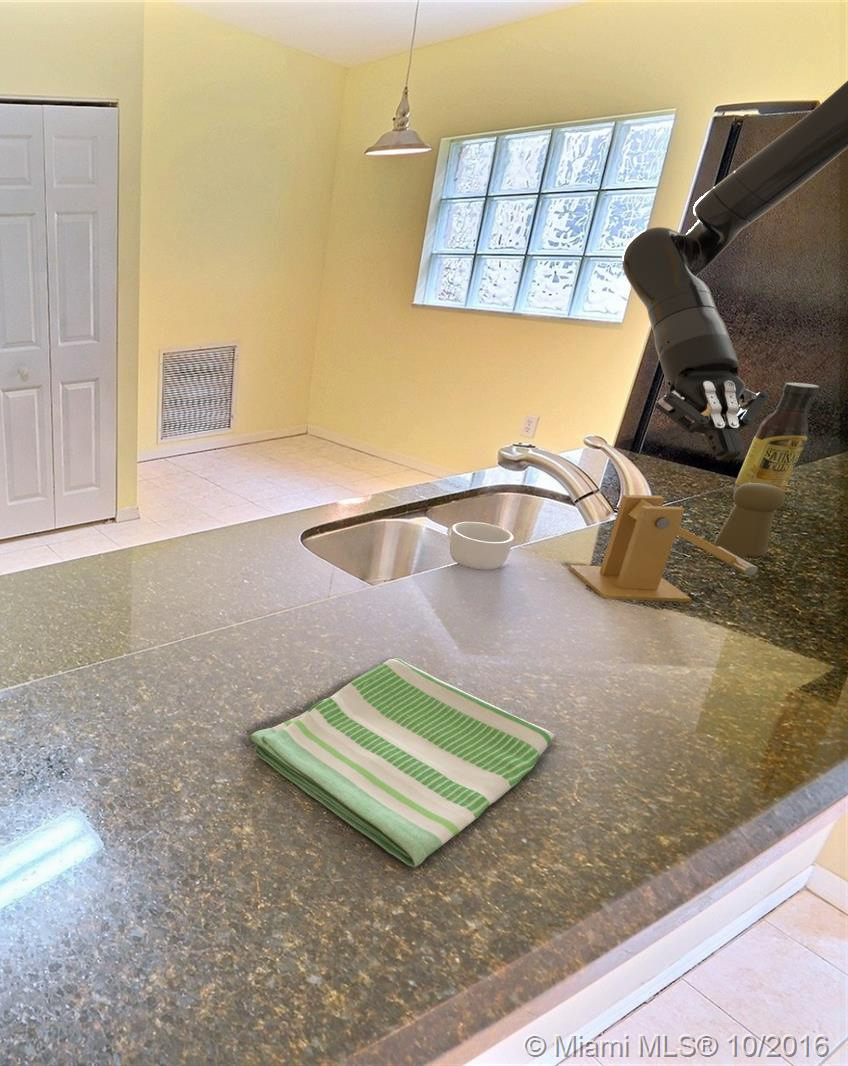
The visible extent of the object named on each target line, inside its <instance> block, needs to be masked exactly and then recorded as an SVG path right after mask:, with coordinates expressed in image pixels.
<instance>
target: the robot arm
mask: <svg viewBox="0 0 848 1066" xmlns="http://www.w3.org/2000/svg"><path fill="white" fill-rule="evenodd" d="M847 149H848V80H846V81H845V82H844V83H842V84H841V86H840V87H839V88H838V89H836V90H835V91H834V92H833V93H832V94H831V95H829V96H827V98H826V99H825V100H823V102H821V103H820V104H818V105H817V107H815V108H814V109H813V110H811V111H810V112H809V113H807V114H806V115H805V116H804V117H802V118H801V119H800V120H799V121H797V122H796V123H795V124H794V125H793V126H791V127H790V128H789V129H787V130H786V131H785V132H783V133H782V134H780V135H779V136H778V137H777V138H775V139H774V140H772V141H771V142H770V143H769V144H767V145H766V146H764V147H763V148H762V149H761V150H759V151H758V152H757V153H755V154H754V155H753V156H752V157H750V158H749V159H748V160H746V161H745V162H744V163H743V164H741V165H740V166H738V167H737V168H736V169H735V170H733V171H732V172H731V173H730V174H728V175H727V176H726V177H724V178H723V179H722V180H721V181H720V182H718V183H717V184H716V185H715V186H713V188H711V189H710V190H709V191H707V192H706V193H704V195H703V196H701V197H699V199H698V200H697V201H696V202H695V204H694V206H693V214H694V216H695V217H696V219H697V222H696V223H695V224H694V226H692V227H691V229H689V230H688V232H687V233H685V234H683V233H681V232H678V231H677V230H674V229H672V228H668V227H663V226H656V227H650V228H646V229H644V230H642V231H640V232H638V233H637V234H635V235H634V236H633V237H632V238H631V239H630V241H629V242H628V243H627V245H626V247H625V248H624V251H623V254H622V260H621V262H622V270H623V274H624V275H625V277H626V279H627V281H628V283H629V285H630V286H631V287H632V289H633V291H634V292H635V294H636V296H637V297H638V298H639V300H640V301H641V302H642V304H643V305H644V306H645V309H646V311H647V315H648V319H649V322H650V326H651V329H652V332H653V337H654V346H655V350H656V353H657V355H658V360H659V363H660V366H661V369H662V373H663V375H664V379H665V382H666V385H667V386H668V387H669V389H668V390H669V392H668V393H667V394H665V395H663V397H661V398H660V399H659V400H658V401H656V402H655V403H654V407H655V408H656V409H657V410H658V411H660V412H661V413H662V414H663V415H664V416H667V417H668V418H669V419H670V420H671V421H673V422H674V423H675V424H677V425H678V426H680V427H681V428H682V429H683V430H685V431H686V432H687V433H690V434H693V433H699V434H701V435H702V436H703V437H705V439H706V441H707V443H708V448H709V451H710V453H711V455H712V456H713V457H715V460H717V461H733V460H734V459H736V458H738V457H739V456H740V455H741V454H742V452H743V451H744V447H743V443H742V441H741V438H740V435H739V432H740V431H741V430H743V429H744V428H745V427H748V426H749V425H752V423H753V422H754V421H755V419H756V418H757V416H758V415H759V413H760V412H761V410H762V408H763V407H764V406H765V404H766V403H767V401H768V399H769V398H770V395H769V393H768V392H766V391H759V392H758V393H755V392H753V391H751V390H749V389H747V388H746V383H745V382H744V381H743V380H742V379H741V377H740V376H739V374H738V372H739V364H740V363H739V360H738V357H737V354H736V351H735V349H734V346H733V343H732V340H731V337H730V335H729V332H728V329H727V326H726V324H725V322H724V320H723V319H722V317H721V316H720V314H719V312H718V308H717V305H716V303H715V301H714V300H715V299H714V297H713V295H712V291H711V290H710V288H709V286H708V285H707V284H706V283H705V282H704V281H703V280H702V279H700V278H699V277H697V276H699V275H700V274H701V273H702V272H703V271H705V270H706V269H707V268H708V267H709V266H710V265H711V264H712V263H713V262H714V261H715V260H716V259H717V258H718V256H719V255H721V253H723V251H724V250H725V249H726V248H727V247H728V246H729V245H730V244H731V243H732V242H733V240H735V238H736V237H737V236H738V235H739V233H741V231H743V230H744V229H745V228H747V227H748V226H750V225H751V224H753V222H755V221H756V220H758V219H759V218H761V217H762V216H763V215H765V214H766V213H767V212H769V211H770V210H771V209H773V208H774V207H776V206H777V205H779V204H780V203H781V202H782V201H784V200H785V199H787V198H788V197H789V196H790V195H792V194H793V193H795V192H796V191H797V190H798V189H800V188H801V187H802V186H803V185H805V183H807V182H808V181H809V180H811V179H812V178H813V177H815V176H816V174H818V173H819V172H821V170H823V169H824V168H825V167H826V166H827V165H828V164H830V163H831V162H833V160H834V159H836V158H837V157H838V156H839V155H841V154H842V153H843V152H844V151H846V150H847Z"/></svg>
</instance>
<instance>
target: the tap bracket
mask: <svg viewBox="0 0 848 1066" xmlns="http://www.w3.org/2000/svg"><path fill="white" fill-rule="evenodd" d="M641 500H644V501H646V502H648V503H650V504H651V505H653V506H641V508H640V511H639V515H638V518H637V520H636V519H634V518H633V517H631V516H630V515H628V514H629V513H630V512H631V511H632V510H633V509H634V508H635V507H636V505H637V504H638V503H639V502H640V501H641ZM665 500H666V498H665V497H663V496H662V495H645V494H644V495H643V494H642V495H641V494H635V495H634V494H623V495H622V497H621V500H620V503H619V507H618V510H617V513H616V517H615V519H614V523H613V526H612V530H611V533H610V536H609V538H608V543H607V546H606V548H605V549H606V550H605V553H604V556H603V559H602V563H601V566H600V565H577V564H576V565H575V564H570V565H569V567H568V569H569V570H570V571H571V572H572V573H573V574H574V575H576V576H577V577H578V578H579V579H581V580H582V581H583V582H584V583H585V584H586V585H587V586H589V587H590V588H591V589H592V590H593V591H594V592H595V593H596V594H598V595H599V596H600V597H601V598H602V599H605V600H606V599H608V600H609V599H610V600H633V601H653V602H654V601H657V602H678V603H679V602H680V603H691V601H692V598H691V597H690V596H688V595H687V594H686V593H684V592H683V591H681V590H680V589H679V588H678V587H676V586H674V585H673V584H672V583H671V582H669V580H666V579H665V578H663V574H664V572H665V569H666V566H667V563H668V560H669V557H670V554H671V551H672V549H673V546H674V543H675V540H676V536H677V535H676V534H677V531H678V528H679V527H680V525H681V523H682V519H683V516H684V513H685V511H686V510H685V508H683V507H681V506H665V505H664V502H665ZM663 505H664V506H663Z"/></svg>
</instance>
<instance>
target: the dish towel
mask: <svg viewBox="0 0 848 1066" xmlns="http://www.w3.org/2000/svg"><path fill="white" fill-rule="evenodd" d="M554 738H555V734H554V733H553V732H551V731H549V730H547V729H546V728H543V727H541V726H539V725H536V724H535V723H532V722H529V721H527V720H525V719H524V718H523V719H522V718H520V717H519V716H516V715H514V714H512V713H510V712H508V711H505V710H504V709H502V708H500V707H497V706H496V705H493V704H491V703H489V702H487V701H485V700H483V699H481V698H479V697H476V696H475V695H472V694H470V693H469V692H466V691H464V690H462V689H461V688H458V687H456V686H454V685H452V684H450V683H447V682H446V681H443V680H441V679H439V678H437V677H436V676H433V675H431V674H429V672H426V671H424V670H421V669H419V668H417V667H415V666H413V665H411V664H410V663H407V662H405V661H404V660H402V659H400V658H398V657H394V658H388V659H386V661H384V662H382V663H380V664H379V665H376V666H375V667H373V668H371V669H369V670H368V671H366V672H364V673H363V674H361V675H360V676H358V677H357V678H355V679H353V680H352V681H350V682H349V683H347V684H346V685H345V686H343V687H341V689H339V690H338V691H336V692H334V694H332V695H331V696H330V697H327V698H324V699H321V700H319V701H318V702H316V703H315V704H313V705H311V707H309V708H308V709H307V710H306V711H304V712H303V713H301V714H300V715H298V716H296V717H293V718H290V719H289V720H286V721H284V722H282V723H280V724H277V725H275V726H273V727H268V728H264V729H260V730H256V731H254V732H253V733H252V734H249V739H250V740H251V741H252V742H253V743H255V744H256V745H258V746H255V747H254V753H255V754H256V755H257V757H258V758H259V759H261V760H262V761H263V762H265V763H267V764H268V765H269V766H270V767H271V768H273V769H274V770H275V771H276V772H278V773H279V774H280V775H281V776H283V777H284V778H286V779H288V781H290V782H291V783H293V784H294V785H296V786H297V787H298V788H300V789H301V790H302V791H304V792H305V793H306V794H307V795H309V796H310V797H312V798H313V799H315V800H316V801H318V803H320V804H322V805H323V806H324V807H326V808H327V809H328V810H330V811H331V812H332V813H333V814H335V815H336V816H337V817H339V818H340V819H341V820H343V821H345V822H346V823H347V824H348V825H350V826H351V827H353V828H354V829H355V830H357V831H358V832H360V833H361V834H363V835H364V836H365V837H367V838H369V839H370V840H372V841H373V842H374V843H375V844H377V845H378V846H379V847H381V848H382V849H383V850H384V851H386V852H387V853H388V854H390V855H393V857H395V858H397V859H398V860H400V861H401V862H402V863H404V864H405V865H407V866H409V867H412V868H417V867H418V866H419V865H421V864H423V862H424V861H425V860H426V859H427V858H428V857H429V856H430V855H432V854H434V852H435V851H437V850H438V849H440V848H441V847H442V846H443V845H445V844H446V843H448V842H449V840H451V839H452V838H454V837H455V836H456V835H458V834H460V833H461V832H462V831H463V830H464V829H465V828H467V827H468V826H469V825H470V824H472V823H473V822H474V821H475V820H476V819H478V818H479V817H480V816H481V815H482V814H483V813H484V811H486V810H487V808H488V807H489V806H491V805H493V804H494V803H496V801H498V800H500V798H502V797H503V796H504V795H505V794H506V793H507V792H508V791H510V790H511V789H513V788H514V787H515V786H516V785H517V784H518V783H519V782H520V781H521V780H522V779H523V778H524V777H525V776H526V775H527V774H529V773H530V772H531V771H532V770H533V768H534V767H535V765H536V763H537V762H538V761H539V759H540V756H542V754H543V753H544V752H545V750H546V749H548V747H549V745H550V744H551V742H552V741H553V739H554Z"/></svg>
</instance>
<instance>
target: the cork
mask: <svg viewBox="0 0 848 1066" xmlns="http://www.w3.org/2000/svg"><path fill="white" fill-rule="evenodd" d="M732 499H733V502H734V503H735V504H734V506H733V508H732V510H731V511H730V513H729V515H728V517H727V518H726V520H725V522H724V523H723V525H722V527H721V529H720V530H719V532H718V534H717V535H716V537H715V539H714V541H713V543H712V544H713V545H715V546H716V547H723V548H725V549H727V550H728V551H730V552H732V553H733V554H735V555H737V556H739V557H740V558H742V559H749V560H759V559H760V557H762V556H765V555H766V554H767V552H768V547H769V541H770V536H771V532H772V527H773V521H774V517H775V512H776V511H777V510H779V509H781V507H782V506H783V505H784V504H785V501H786V494H785V490H784V491H783V490H782V489H780V488H778V487H776V486H772V485H768V484H762V483H746V484H742V485H741V486H739V487H738V488H737V489H736V490H735V492H734V493H733V497H732ZM758 557H759V558H758Z"/></svg>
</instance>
